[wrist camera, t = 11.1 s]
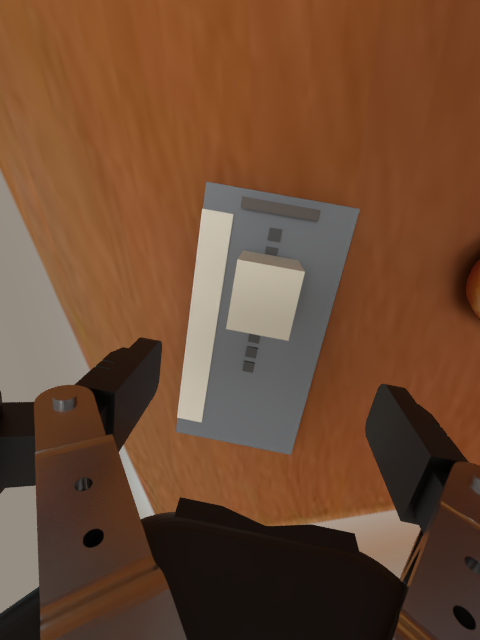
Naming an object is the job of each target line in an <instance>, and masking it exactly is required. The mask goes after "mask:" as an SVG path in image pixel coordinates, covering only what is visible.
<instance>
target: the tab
mask: <svg viewBox="0 0 480 640" xmlns="http://www.w3.org/2000/svg"><path fill="white" fill-rule="evenodd" d="M304 274H305V271H304V269H303V267H302V266H301V264H300V262H299V260H295V259H289V258H284V257H278V256H273V255H267V254H262V253H256V252H251V251H246V250H243V251H242V253H241V255H240V256H239V258H238V259H237V265H236V271H235V277H234V283H233V289H232V296H231V302H230V308H229V314H228V320H227V326H226V329H228V330H234V331H239V332H244V333H250V334H255V335H260V336H265V337H271V338H276V339H281V340H286V341H289V336H290V332H291V328H292V324H293V320H294V316H295V311H296V307H297V303H298V299H299V295H300V291H301V286H302V282H303V278H304Z"/></svg>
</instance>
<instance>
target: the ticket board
mask: <svg viewBox="0 0 480 640" xmlns="http://www.w3.org/2000/svg"><path fill="white" fill-rule="evenodd" d="M359 211H360V209H357V208H351V207H346V206H340V205H335V204H329V203H323V202H318V201H312V200H306V199H301V198H295V197H290V196H284V195H278V194H273V193H267V192H261V191H256V190H250V189H245V188H239V187H233V186H228V185H222V184H216V183H211V182H206V188H205V197H204V205H203V209H202V215H201V223H200V232H199V240H198V248H197V257H196V265H195V273H194V281H193V290H192V298H191V306H190V315H189V323H188V331H187V339H186V348H185V356H184V364H183V373H182V381H181V389H180V398H179V406H178V414H177V418H178V419H177V427H176V432H179V433H184V434H189V435H194V436H199V437H204V438H209V439H214V440H219V441H224V442H229V443H234V444H239V445H244V446H249V447H254V448H259V449H264V450H269V451H274V452H279V453H284V454H289V455H291V453H292V449H293V446H294V442H295V439H296V435H297V432H298V428H299V424H300V421H301V417H302V414H303V410H304V407H305V403H306V399H307V396H308V392H309V389H310V385H311V382H312V378H313V375H314V371H315V367H316V364H317V360H318V357H319V353H320V350H321V346H322V342H323V339H324V335H325V332H326V328H327V325H328V321H329V318H330V314H331V310H332V307H333V303H334V300H335V296H336V293H337V289H338V286H339V282H340V278H341V275H342V271H343V268H344V264H345V261H346V257H347V253H348V250H349V246H350V243H351V239H352V236H353V232H354V229H355V225H356V221H357V218H358V214H359ZM243 250H246V251H251V252H256V253H262V254H267V255H273V256H278V257H284V258H289V259H295V260H299V262H300V264H301V266H302V267H303V269H304V271H305V274H304V278H303V282H302V286H301V291H300V295H299V299H298V303H297V307H296V311H295V316H294V320H293V324H292V328H291V332H290V336H289V341H286V340H281V339H276V338H271V337H265V336H260V335H255V334H250V333H244V332H239V331H234V330H228V329H226V326H227V320H228V314H229V308H230V302H231V296H232V289H233V283H234V277H235V271H236V265H237V259H238V258H239V256H240V255H241V253H242V251H243Z"/></svg>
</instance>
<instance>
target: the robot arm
mask: <svg viewBox="0 0 480 640" xmlns="http://www.w3.org/2000/svg"><path fill="white" fill-rule="evenodd" d="M161 353H162V343H161V341H157V340H152V339H147V338H142V337H141V338H139V339H138V340H137V341H136V342H135V343H134V344H133V345H132V346H131V347H130V348H124V347H123V348H121V349H118V350H116V351H113V352H111V353H110V354H109V355H107V356H106V357H105V358H104V359H103V361H101V362H100V363H98V364H97V365H96V367H94V368H93V369H92V370H91V371H89V372H88V373H87V374H86V375H85V376H84V377H83V378H82V379H81V380H79V381H78V382H77V383H76V384H75V385H64V386H58V387H54V388H51V389H49V390H46V391H45V392H43V393H41V394H40V395H39V396H38V397H37V398H36V399H35V401H34V402H17V403H15V402H10V403H2V397H1V392H0V493H1V492H2V491H3V490H4V489H5V488H9V487H21V486H34V485H36V504H37V532H38V562H39V587H38V588H36V589H35V590H33V591H32V592H31V593H29V594H28V595H26V596H25V597H23V598H22V599H21V600H19V601H18V602H16V603H15V604H14V605H12V606H10V607H9V608H8V609H6V610H5V611H3V612H2V613H0V640H480V466H479V465H476V464H473V463H469V462H468V461H467V460H466V458H465V457H464V456H463V454H462V453H461V452H460V451H459V449H458V448H457V447H456V445H455V444H454V443H453V441H452V440H451V439H450V438H449V437H448V436H447V434H446V432H445V431H444V430H443V428H441V427H440V425H439V423H438V422H437V421H436V419H435V418H434V417H433V416H432V414H430V413H429V412H428V411H426V410H425V409H424V408H423V407H421V406H420V405H419V404H417V403H416V402H415V400H414V399H413V398H412V396H411V395H410V394H409V392H408V391H407V390H406V389H405V388H402V387H397V386H392V385H387V384H381V385H380V386H379V388H378V390H377V393H376V395H375V398H374V401H373V404H372V407H371V409H370V412H369V415H368V418H367V421H366V428H365V431H366V437H367V440H368V442H369V445H370V447H371V450H372V452H373V455H374V457H375V459H376V462H377V464H378V467H379V469H380V472H381V474H382V477H383V479H384V481H385V484H386V486H387V489H388V491H389V494H390V496H391V498H392V501H393V503H394V506H395V508H396V511H397V513H398V516H399V518H400V520H401V521H403V522H408V523H413V524H417V525H419V526H420V528H421V530H420V532H419V534H418V536H417V538H416V541H415V543H414V545H413V548H412V550H411V553H410V555H409V557H408V560H407V562H406V565H405V567H404V570H403V572H402V574H401V577H400V579H399V578H398V577H396V576H395V575H394V574H393V573H392V572H390V571H389V570H388V569H387V568H386V567H384V566H383V565H381V564H380V563H379V562H377V561H375V560H374V559H372V558H371V557H369V556H367V555H366V554H364V553H362V552H359V549H358V545H357V541H356V537H355V534H354V533H349V532H344V531H340V530H335V529H330V528H325V527H320V526H316V525H290V526H264V525H262V524H260V523H257V522H255V521H253V520H251V519H249V518H247V517H245V516H242V515H240V514H238V513H236V512H234V511H232V510H230V509H227V508H225V507H223V506H219V505H214V504H210V503H205V502H200V501H195V500H190V499H186V498H181V497H180V499H179V502H178V506H177V509H176V512H168V513H162V514H156V515H153V516H149V517H146V518H143V519H141V520H140V517H139V514H138V511H137V507H136V504H135V501H134V499H133V495H132V492H131V489H130V486H129V483H128V480H127V477H126V474H125V471H124V468H123V465H122V462H121V459H120V455H119V451H120V449H121V447H122V446H123V444H124V443H125V441H126V440H127V438H128V436H129V435H130V433H131V432H132V430H133V428H134V427H135V425H136V424H137V422H138V421H139V419H140V417H141V416H142V414H143V413H144V411H145V409H146V408H147V406H148V405H149V403H150V401H151V400H152V398H153V397H154V395H155V393H156V390H157V387H158V383H159V376H160V364H161Z"/></svg>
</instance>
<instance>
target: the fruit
mask: <svg viewBox="0 0 480 640" xmlns="http://www.w3.org/2000/svg"><path fill="white" fill-rule="evenodd" d="M466 295H467V299H468V301H469V303H470V305H471V308H472V309H473V311H474V313H475V314H476V316H477V317H478V318H479V319H480V259H479V260H478V261H477V262H476V263H475V265H474V266H473V267H472V268H471V270H470V272H469V275H468V278H467V281H466Z"/></svg>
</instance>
